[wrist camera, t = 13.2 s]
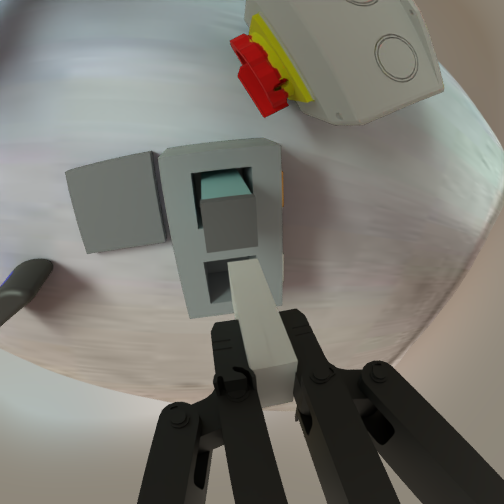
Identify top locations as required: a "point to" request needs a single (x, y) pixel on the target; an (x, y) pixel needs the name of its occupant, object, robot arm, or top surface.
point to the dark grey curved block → (22, 286)
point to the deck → (117, 203)
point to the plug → (227, 211)
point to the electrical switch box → (337, 57)
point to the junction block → (191, 226)
